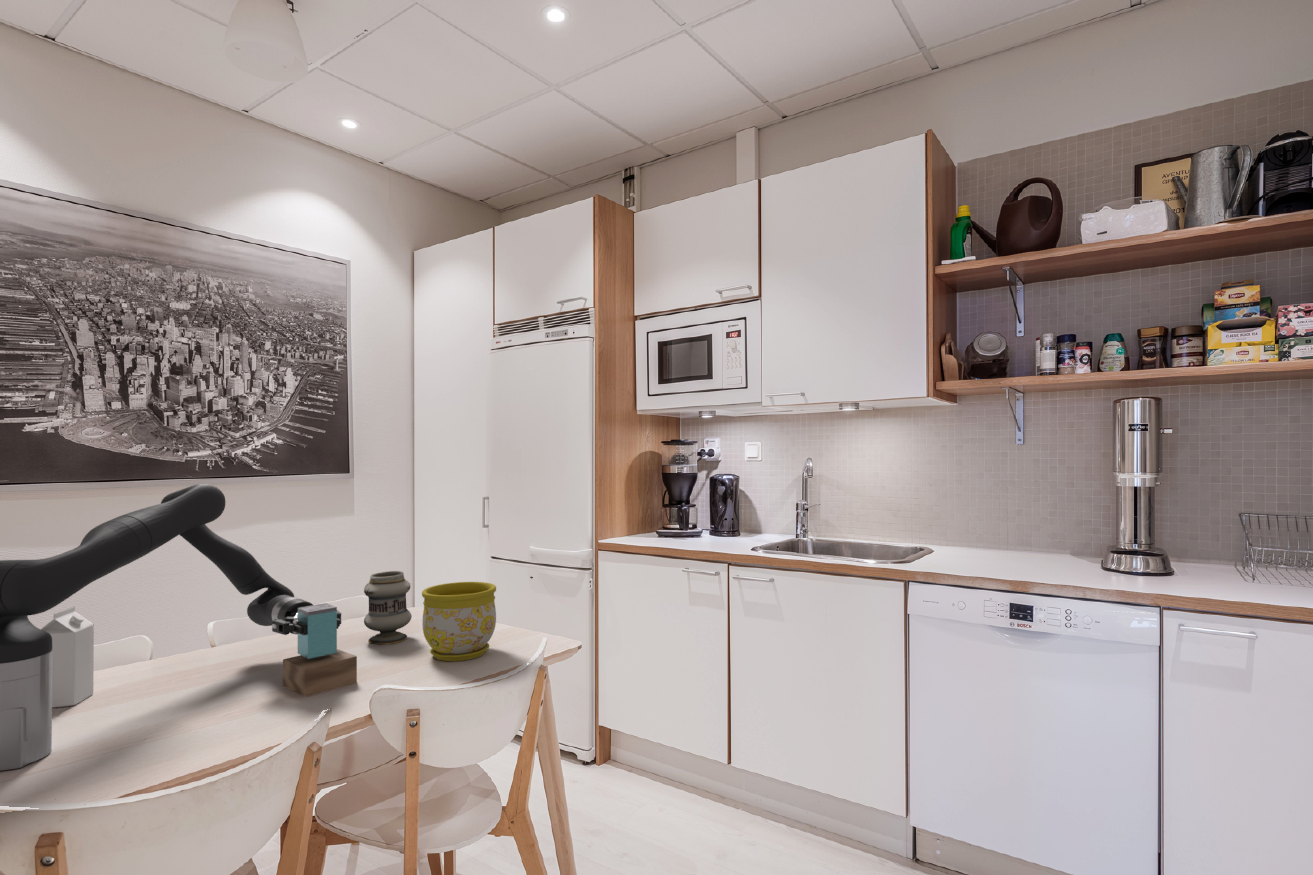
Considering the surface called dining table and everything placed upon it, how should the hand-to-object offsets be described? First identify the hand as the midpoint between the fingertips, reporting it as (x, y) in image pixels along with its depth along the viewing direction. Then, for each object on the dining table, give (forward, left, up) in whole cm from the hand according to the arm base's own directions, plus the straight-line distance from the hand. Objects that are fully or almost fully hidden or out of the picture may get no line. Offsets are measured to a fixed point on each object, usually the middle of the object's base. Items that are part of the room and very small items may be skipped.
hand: (321, 627), depth 144 cm
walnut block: (+2, +1, -13) cm, 13 cm away
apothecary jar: (+35, -11, -13) cm, 39 cm away
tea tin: (+2, +1, -6) cm, 7 cm away
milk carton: (+10, +50, -13) cm, 52 cm away
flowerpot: (+14, -29, -13) cm, 35 cm away
